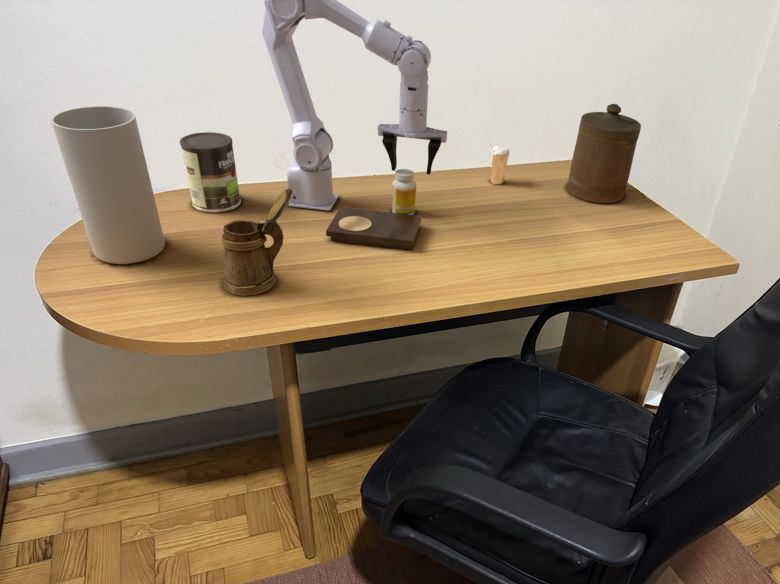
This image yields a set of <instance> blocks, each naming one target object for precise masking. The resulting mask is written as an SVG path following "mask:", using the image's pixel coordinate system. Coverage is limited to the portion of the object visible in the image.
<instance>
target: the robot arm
mask: <svg viewBox="0 0 780 584" xmlns="http://www.w3.org/2000/svg"><path fill="white" fill-rule="evenodd" d="M263 4H264V7H265V9H264V16H263V22H262V32H261V33H262V38H263V41H264V43H265V46H266V50H267V53H268V55H269V58H270V60H271V64H272V66H273V70H274V73H275V75H276V79H277V81H278V85H279V87H280V90H281V94H282V96H283V99H284V102H285V104H286V108H287V111H288V113H289V117H290V119H291V123H292V132H291V139H292V142H293V158H294V161H291V162H290V163H289V165H288V167H287V174H286V175H287V189H291V190H292V191H293V192H292V195H291V198H290V200H289V202H288V206H289V207H293V208H300V209H308V210H310V209H311V210H319V211H327V212H329V211H331V210H332V208H333V207H334V205H335V203H336V202H337V200H339V195H338V194H334V188H333V187H334V186H333V169H332V167H333V166H332V161H331V158H330V154H331V152H332V151H333V149H334V140H333V138H332V136H331V135H330V133H329V132H328V131H327V129H326V128H325V126H324V122H323V121H322V119H320V118H319V117H318V116H317V113H316V110H315V107H314V103H313V100H312V97H311V94H310V91H309V87H308V85H307V81H306V78H305V75H304V72H303V68H302V65H301V61H300V59H299V56H298V53H297V50H296V46H295V43H294V40H293V35H294V33H295V32H296V29H298V26H299V24H300V22H301V21H302V20H315V19H325V20H327V21H328V22H331V23H332V24H334V25H336V26H338V27H340V28H342V29H343V30H345V31H347V32H349V33H351V34H353V35H354V36H357V37H358V38H360V39H361V40H362V42H363V44H364V48H365V49H366V50H367V51H369V52H371V53H372V54H374V55H375V56H378V57H379V58H381V59H383V60H384V61H386V62H388V63H389V64H391V65H393V66H397V68H398V70H399V72H400V82H399V111H398V112H399V115H398V116H399V117H398V118H399V119H398V121H399V123H379V124H378V125H377V136H379V137H382V139H381V141H382V142H381V143H382V145H383V147H384V148H385V150H386V153H387V155H388V159H389V162H390V167H391V171H392V172H394V171H395V172H396V170H397V165H398V161H397V146H398V145H397V144H398V138H407V139H415V140H425V141H428V145H427V165H426V175H431V172H432V168H433V167H432V166H433V163H434V160H435V158H436V155H437V154H438V152H439V150H440V148H441V145H442V143H443V144H446V143H447V141H448V130H442V129H439V128H438V129H437V128H434V127H429V126H427V121H428V104H429V103H428V102H429V84H428V81H429V71H428V69H429V67H430V65H431V61H432V55H431V51H430V48H429V47H428V46H427V45H426V44H424V42H423V41H422V40H419V39H413V36H411V35H407V36H406V35H404V34H403V33H401V32H400V31H398V30H396V29H395V28H393V27H392V26H391V25H392V23H391V22H389V20H384V21H381V20H380V19H377V20H374V21H369V20H367V19H366V18H364V17H363V16H361V15H360V14H358V13H356V12H355V11H354V10H352V9H351V8H350V7H347V5H344V4H343V3H342V2H340V1H339V0H264V3H263Z"/></svg>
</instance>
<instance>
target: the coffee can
mask: <svg viewBox="0 0 780 584" xmlns="http://www.w3.org/2000/svg"><path fill="white" fill-rule="evenodd" d="M233 144H234V143H233V138H232V137H231V136H230V135H227V134H224V133H220V132H214V131H213V132H211V131H207V132H205V131H204V132H195V133H190V134H187V135H185V136H182V137H180V139H179V145H180V147H181V151H182V157H183V163H184V168H185V172H186V178H187V183H188V188H189V192H190V198H191V205H192V207H193V208H194V209H195V210H197V211H200V212H204V213H224V212H229V211H232V210H234V209H236V208H238V207H239V206H240V205H241V203H242V200H241V194H240V187H239V181H238V175H237V168H236V160H235V153H234V146H233Z"/></svg>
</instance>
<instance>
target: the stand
mask: <svg viewBox="0 0 780 584" xmlns="http://www.w3.org/2000/svg"><path fill="white" fill-rule="evenodd" d="M422 220H423V217H422V215H417V214H416V215H415V214H413V215H408V214H399V213H393V212H389V211H380V210H371V209H365V208H364V209H362V208H356V207H355V208H353V207H347V206H346V207H345V206H340V207H339V209H338V211H337V212H336V214H335V216H334V217H333V218H332V220H331V221H330V224H329V225H328V227H327V228H326V231H325V235H326V237H330V242H331V241H332V242H338V243H347V244H357V245H364V246H365V245H366V246H373V247H374V246H375V247H382V248H389V249H399V250H407V251H410V250H411V248H412V247H414V244H415V241H416V238H417V235H418V233H419V230H420V227H421V224H422V222H423V221H422Z"/></svg>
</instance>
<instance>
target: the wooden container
mask: <svg viewBox="0 0 780 584" xmlns="http://www.w3.org/2000/svg"><path fill="white" fill-rule="evenodd" d="M621 112H622V108H621V106H620V105H619V104H618V103H610V104H609V105H607V106H606V111H593V112H592V111H591V112H585V113H583V114H582V115H581V119H580V123H579V127H578V133H577V137H576V142H575V146H574V150H573V153H572V159H571V163H570V167H569V175H568V180H567V185H566V188H567V192H569V193H570V194H571V195H573V196H574V197H576V198H578V199H581V200H583V201H586V202H591V203H598V204H613V203H618V202H620V201H622V200H623V199H624V197H625V194H626V189H627V186H628V182H629V178H630V175H631V170H632V165H633V161H634V156H635V151H636V147H637V143H638V140H639V137H640V133H641V129H642V125H641V123H640V122H639V121H638V120H637V119H635V118H632V117H630V116H627V115H623V114H620V113H621Z"/></svg>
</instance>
